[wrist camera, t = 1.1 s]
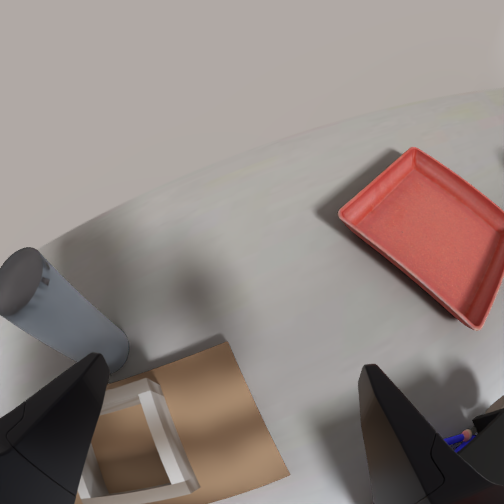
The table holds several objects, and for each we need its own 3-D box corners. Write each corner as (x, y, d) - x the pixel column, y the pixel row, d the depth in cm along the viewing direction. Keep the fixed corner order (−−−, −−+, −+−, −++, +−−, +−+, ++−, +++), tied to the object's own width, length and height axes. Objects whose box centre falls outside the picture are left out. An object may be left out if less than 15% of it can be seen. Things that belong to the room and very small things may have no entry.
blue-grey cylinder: (101, 384, 23) (-1, 331, 12) (78, 345, 25) (-13, 278, 14) (138, 352, 25) (52, 281, 14) (112, 316, 27) (33, 234, 16)
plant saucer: (509, 239, 29) (521, 224, 26) (462, 345, 23) (480, 333, 20) (406, 163, 37) (412, 144, 34) (328, 234, 31) (333, 213, 28)
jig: (289, 473, 18) (292, 480, 15) (63, 520, 15) (37, 525, 11) (229, 344, 25) (221, 328, 22) (30, 409, 21) (4, 401, 18)
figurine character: (476, 398, 21) (350, 490, 17) (531, 372, 14) (395, 502, 11) (498, 448, 17) (377, 547, 13) (553, 432, 11) (425, 570, 7)
